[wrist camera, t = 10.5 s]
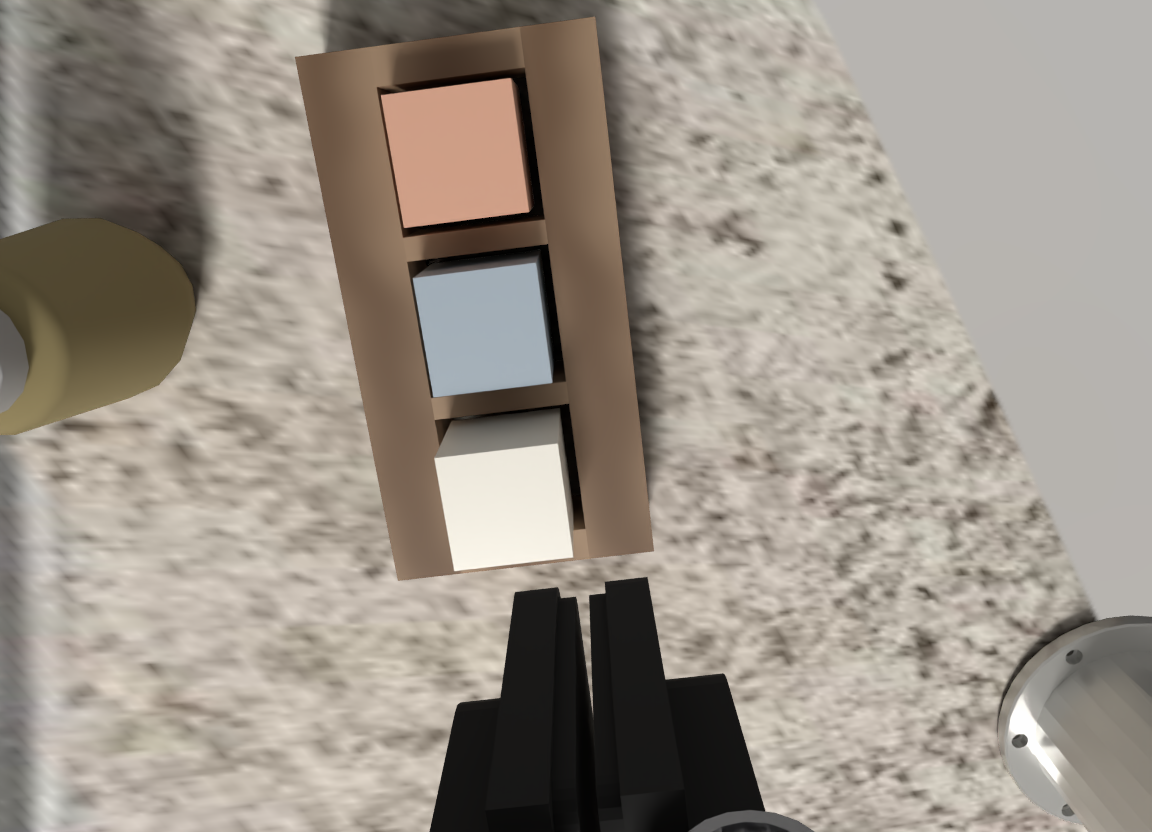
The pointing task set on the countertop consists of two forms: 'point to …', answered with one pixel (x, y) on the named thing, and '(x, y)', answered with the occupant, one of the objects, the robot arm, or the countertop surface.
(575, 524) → the wooden compartment tray
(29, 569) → the countertop surface
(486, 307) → the key slate
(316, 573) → the countertop surface
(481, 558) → the key cream
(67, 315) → the squeeze bottle
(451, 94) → the peach cube
